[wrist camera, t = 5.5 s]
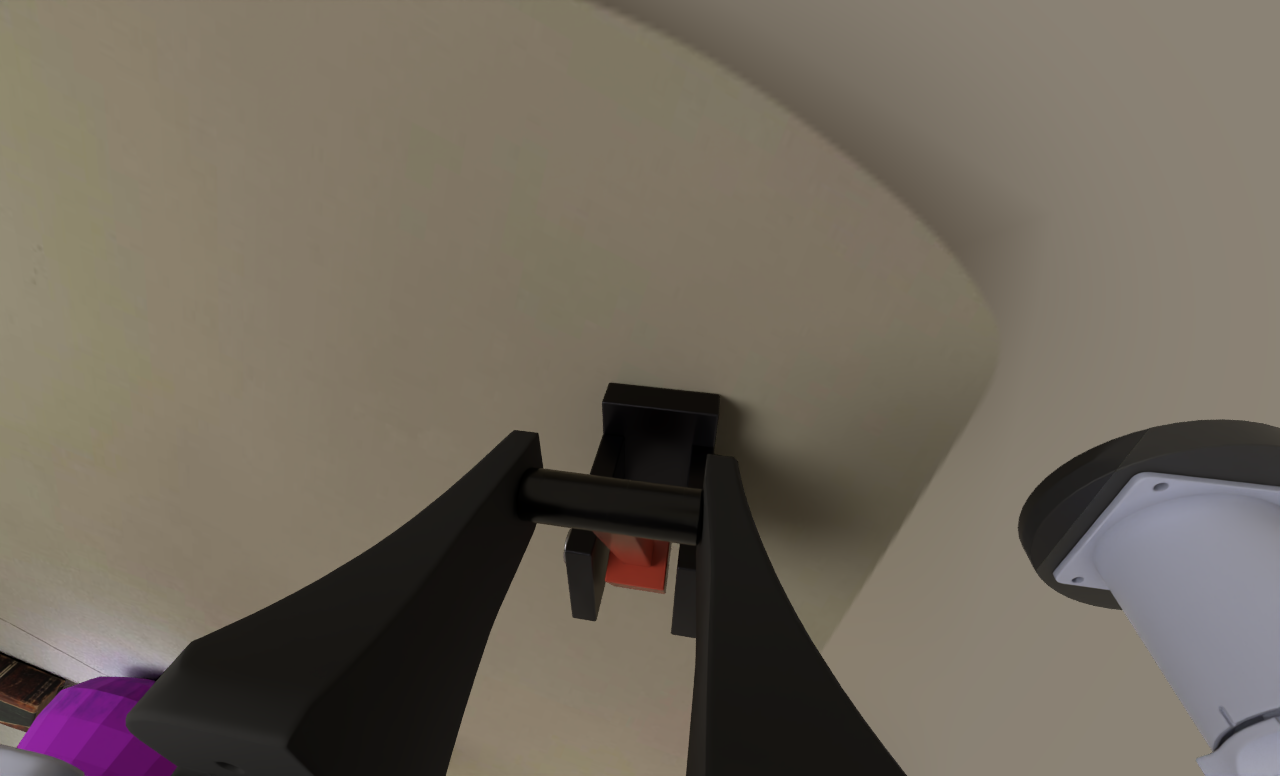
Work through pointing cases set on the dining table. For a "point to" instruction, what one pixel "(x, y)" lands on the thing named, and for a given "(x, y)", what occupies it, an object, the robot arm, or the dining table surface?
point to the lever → (617, 519)
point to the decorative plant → (96, 729)
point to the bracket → (650, 452)
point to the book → (24, 693)
